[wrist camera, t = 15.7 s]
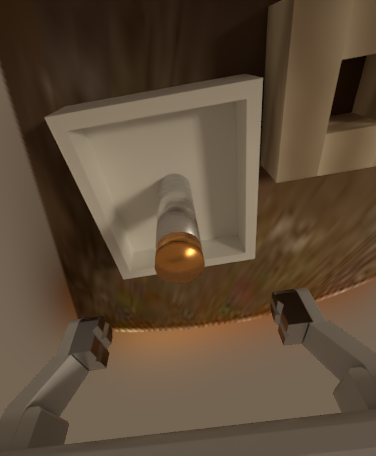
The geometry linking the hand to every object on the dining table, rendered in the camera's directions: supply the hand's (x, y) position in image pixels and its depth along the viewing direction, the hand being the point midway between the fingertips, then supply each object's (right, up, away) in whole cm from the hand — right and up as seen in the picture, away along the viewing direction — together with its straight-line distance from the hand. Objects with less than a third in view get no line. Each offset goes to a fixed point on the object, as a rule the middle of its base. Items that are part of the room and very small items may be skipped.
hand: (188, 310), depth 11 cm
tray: (-1, +8, +11) cm, 14 cm away
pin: (-1, +8, +11) cm, 13 cm away
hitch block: (+12, +15, +7) cm, 20 cm away
